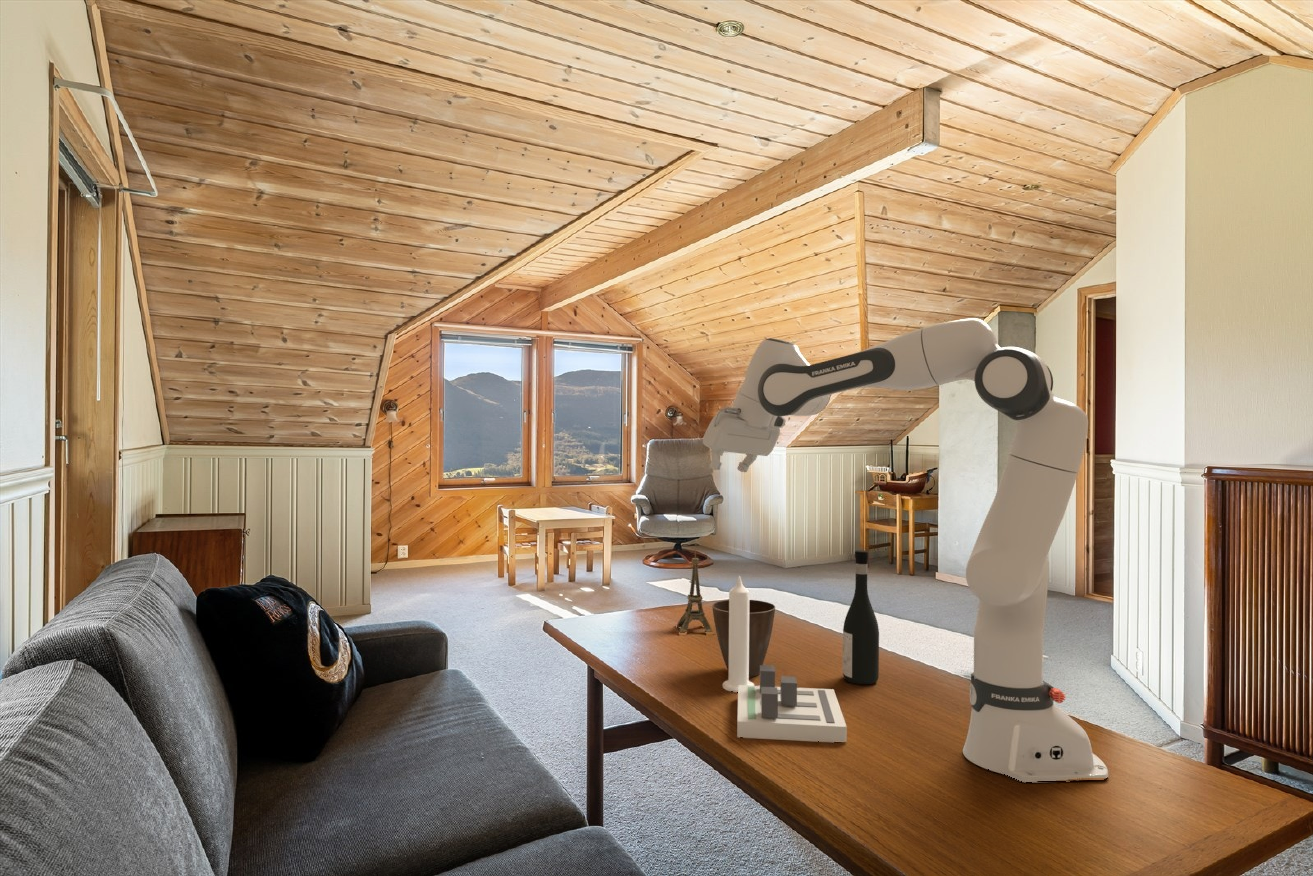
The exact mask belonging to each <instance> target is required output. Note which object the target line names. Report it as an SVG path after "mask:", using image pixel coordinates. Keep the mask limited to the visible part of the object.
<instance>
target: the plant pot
mask: <svg viewBox="0 0 1313 876" xmlns="http://www.w3.org/2000/svg"><path fill="white" fill-rule="evenodd" d="M775 612H776V605H774V604H773V603H771V602H767V601H763V600H756V599H749V678H753V677H756V676H758V675H760V665H764V662H765V660H766V656H767V653H768V649H769V645H770V640H771V637H772V632H773V626H774V622H775V621H774V620H775V615H776V614H775ZM712 615H713V621H714V627H715V628H714V629H715V632H716V633H715V634H716V637H717V640H718V645H719V648H720V651H721V655H722V657H723V662H724V664H725V666H726V670H727V672H728V673H729V599H724V600H720V601H716V602H713V604H712Z"/></svg>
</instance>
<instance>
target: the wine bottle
mask: <svg viewBox="0 0 1313 876" xmlns="http://www.w3.org/2000/svg"><path fill="white" fill-rule="evenodd" d="M854 558H855V588H854V594H853V598H852V600H851V604H850V606H849V608H848V611H847V613H846V616H845V618H844V622H843V628H842V676H843V678H844V680H845V681H847V682H849V683H852V684H854V685H855V684H856V685H862V686H864V685H872V684H874V683H877V682H878V680H879V674H880V673H879V670H880V666H879V665H880V658H879V657H880V653H879V652H880V651H879V650H880V629H879V624H878V620H877V616H876V615H875V612H874V608H873V605H872V604H871V601H870V597H869V593H868V592H869V590H868V568H869V567H868V563H869V562H868V561H869V560H868V559H869V551H867V550H864V549H860V550H859V549H857V550H855V551H854Z"/></svg>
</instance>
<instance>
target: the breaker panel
mask: <svg viewBox="0 0 1313 876" xmlns="http://www.w3.org/2000/svg"><path fill="white" fill-rule="evenodd" d="M776 687H777V691H778V718H773V717H762V715H761V692H760V685H754V686H749V685H738V693H737V729H736V732H737V733H736V734H737V735H736V737H737V738H740V737H743V739H763V740H781V741H782V740H783V741H800V742H818V741H819V742H820V743H834V742H847V739H848V738H847V737H848V735H847V734H848V730H847V729H848V726H847V724H846V723H847V722H846V721H845V717H844V715H843V712H842V709H841V707H840V704H839V701H838V698H837V695H836V693H835V688H834V689H833V688H832V689H831V688H813V687H811V688H810V687H797V706H792V705H781V699H780V687H781V686H776ZM819 742H818V743H819ZM847 743H848V742H847Z"/></svg>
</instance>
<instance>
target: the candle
mask: <svg viewBox="0 0 1313 876" xmlns="http://www.w3.org/2000/svg"><path fill="white" fill-rule="evenodd" d="M743 584H744V583H743V581H742V577H741V576H740V575H738V577H737V581H736V584H735V585H734V586H733V587H732V588H731V589H729V591H728V600H729V672H728V679H727V680H724V681H723V682H722V688H723V689H724V690H725V691H728V692H731V691H733V692H732V693H737V692H738V685H749V686H755V683H754V682H752V681H751V680H749V679H750V677H749V600H750V590H749V589H748V588H746V587H745V586H744V585H743Z"/></svg>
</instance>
